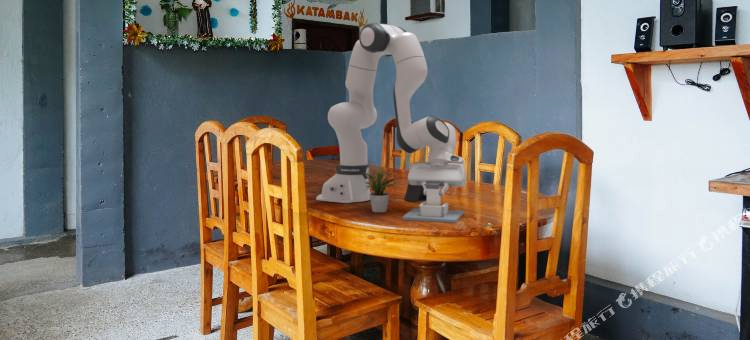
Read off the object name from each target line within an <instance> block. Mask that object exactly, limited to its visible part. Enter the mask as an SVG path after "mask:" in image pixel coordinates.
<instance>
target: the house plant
mask: <svg viewBox="0 0 750 340" xmlns="http://www.w3.org/2000/svg"><path fill="white" fill-rule="evenodd" d="M389 168H390V167H387V168H386V169H385V170H384V171H383V173H382V169H379V166H377V168H376V169H377V170H376V174H377V175H376V174H375V173H374V172H373V171H372V170H370V172H369V174H368V173H365V174H367V175H368V176H369V178H368V180H369V181H370V182H366V184H369V186H367V187H369V188H367V187H366V188H367V189H371V190H372V191H373V192H371V194H370V200H369V201H370V206H371V210H372V212H373V213H386V212H387V211H388V204H389V199H390V197H389V196H390V193H388V192H385V191H386V190H388V189H389V188H390V187H396V188H397V185H396V183H395V182H394V181H398V180H399V178H391V179H389V178H390V177H392V176H393V173H394V172H395V171H394V170H393V171H391V172H390V173H388V174H387V175H386V176H385V174H386V172H387V171H388V169H389ZM395 174H397V172H396V173H394V175H395ZM367 175H366V176H367ZM384 176H385V178H384ZM383 179H384V180H383ZM392 182H394V183H392ZM367 189H366V190H367Z"/></svg>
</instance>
